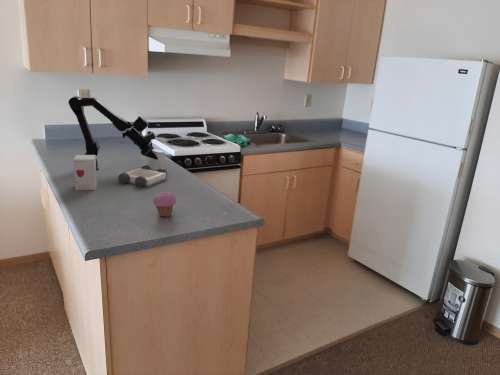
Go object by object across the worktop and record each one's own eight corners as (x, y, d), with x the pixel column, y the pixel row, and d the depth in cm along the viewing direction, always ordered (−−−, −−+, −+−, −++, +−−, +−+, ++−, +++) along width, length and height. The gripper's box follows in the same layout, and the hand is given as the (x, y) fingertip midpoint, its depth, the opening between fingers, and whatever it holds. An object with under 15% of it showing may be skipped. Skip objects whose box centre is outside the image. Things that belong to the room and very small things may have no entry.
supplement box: (75, 190, 185) (72, 159, 181) (77, 184, 193) (75, 154, 189) (96, 190, 188) (94, 159, 183) (97, 184, 196) (95, 154, 191)
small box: (162, 171, 225) (165, 152, 223) (153, 170, 222) (156, 151, 219) (157, 167, 231) (160, 149, 229) (148, 166, 228) (150, 148, 226)
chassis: (145, 188, 195) (145, 178, 193) (117, 182, 201) (116, 172, 199) (168, 178, 212) (168, 169, 211) (142, 173, 218) (142, 164, 217)
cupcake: (177, 212, 167) (177, 189, 164) (174, 220, 159) (174, 196, 156) (155, 211, 167) (155, 188, 164) (151, 219, 159) (151, 195, 156)
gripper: (146, 130, 210) (168, 150, 216) (146, 124, 227) (167, 143, 233) (131, 145, 210) (153, 165, 217) (132, 138, 228) (153, 156, 234)
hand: (157, 157), depth 225 cm, fingers closed on small box, 9 cm apart
